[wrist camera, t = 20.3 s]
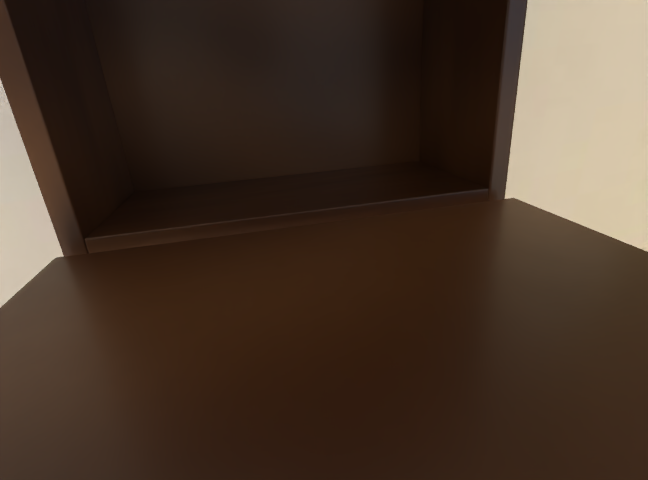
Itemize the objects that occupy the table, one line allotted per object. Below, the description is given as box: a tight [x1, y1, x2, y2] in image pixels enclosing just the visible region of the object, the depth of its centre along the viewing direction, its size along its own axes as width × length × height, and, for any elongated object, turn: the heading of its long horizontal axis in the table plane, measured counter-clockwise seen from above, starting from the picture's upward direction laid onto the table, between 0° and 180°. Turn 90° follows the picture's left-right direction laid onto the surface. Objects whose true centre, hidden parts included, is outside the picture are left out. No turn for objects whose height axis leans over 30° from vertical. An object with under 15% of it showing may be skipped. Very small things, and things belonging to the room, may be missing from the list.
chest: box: [0, 0, 527, 257], centre depth 13 cm, size 13×15×7 cm
